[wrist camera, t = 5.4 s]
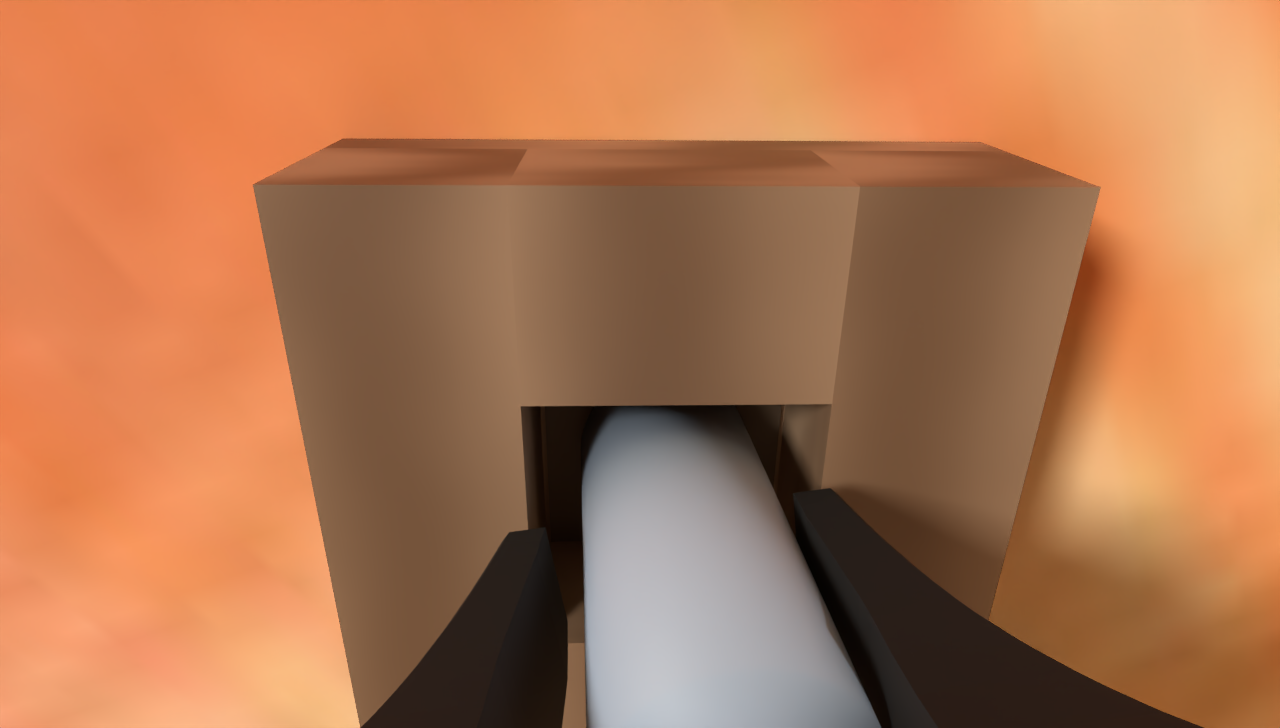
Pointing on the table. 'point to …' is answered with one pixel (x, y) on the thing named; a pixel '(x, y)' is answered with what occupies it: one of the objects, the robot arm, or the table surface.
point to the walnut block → (656, 345)
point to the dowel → (700, 583)
